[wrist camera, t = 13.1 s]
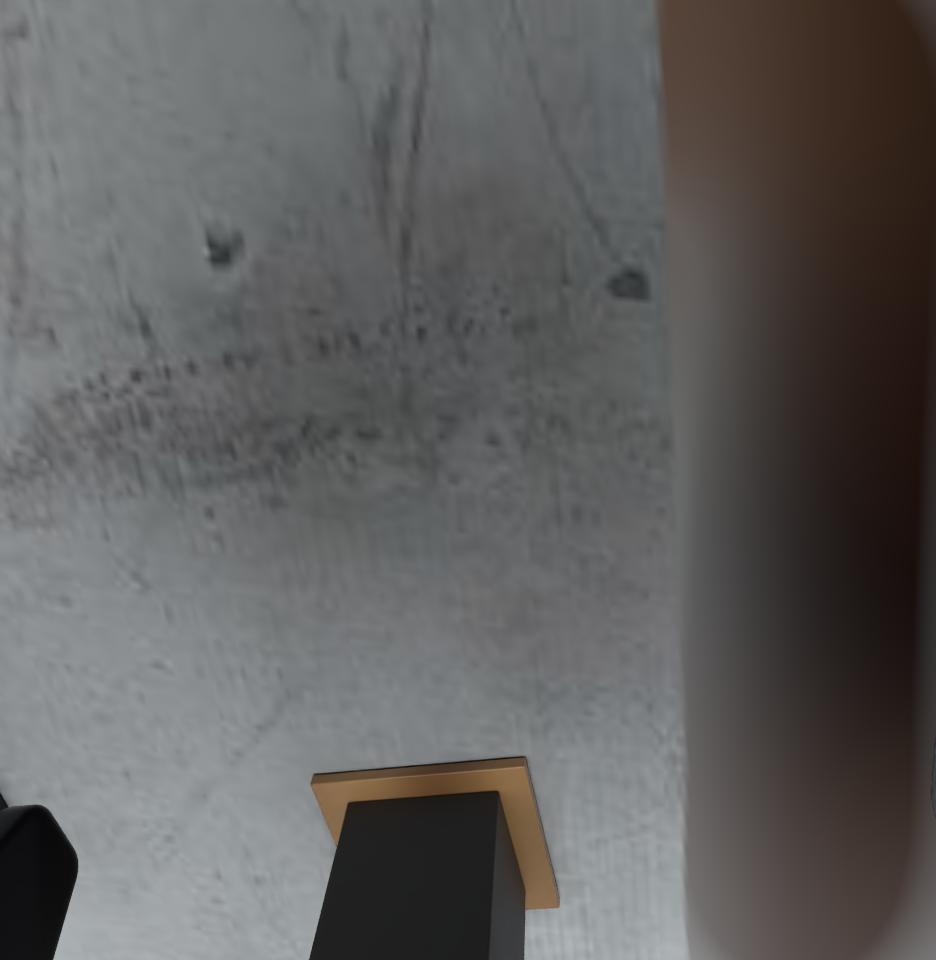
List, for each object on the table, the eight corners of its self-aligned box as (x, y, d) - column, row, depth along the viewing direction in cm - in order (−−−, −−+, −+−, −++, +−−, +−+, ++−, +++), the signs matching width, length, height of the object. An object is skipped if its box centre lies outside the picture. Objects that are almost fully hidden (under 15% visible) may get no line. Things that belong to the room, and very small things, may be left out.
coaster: (525, 756, 26) (524, 766, 26) (559, 897, 30) (559, 908, 29) (312, 774, 28) (309, 784, 27) (368, 908, 31) (366, 918, 31)
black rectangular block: (498, 789, 27) (484, 1023, 21) (525, 890, 29) (520, 1126, 23) (347, 801, 28) (290, 1029, 21) (385, 898, 30) (344, 1128, 24)
